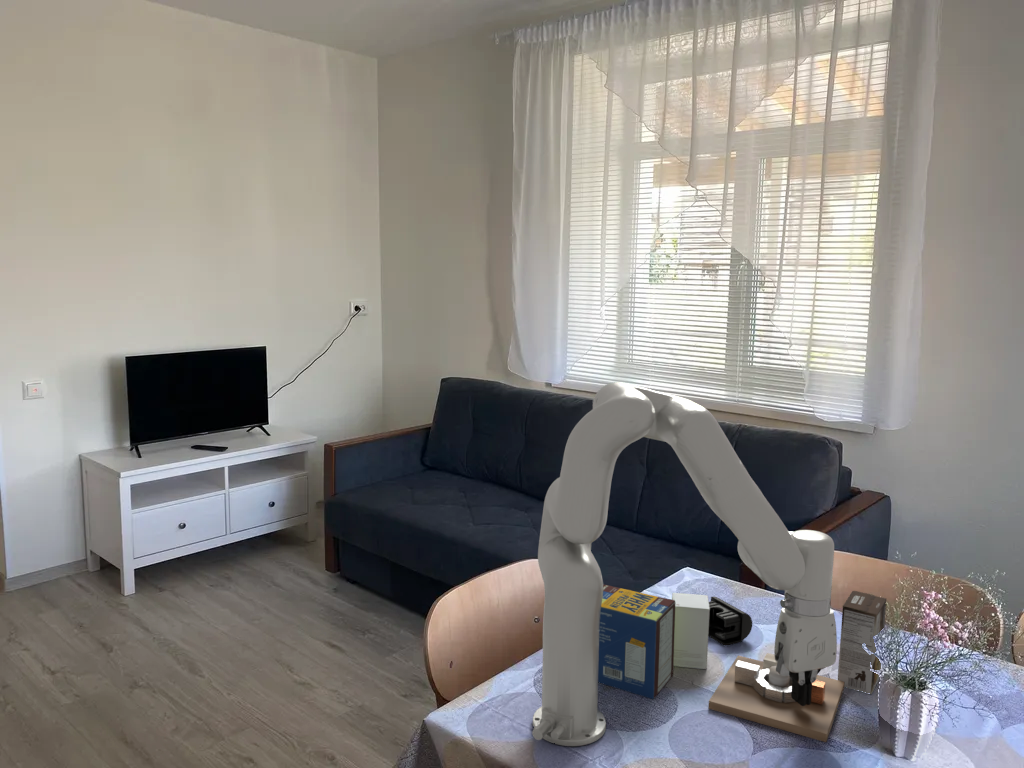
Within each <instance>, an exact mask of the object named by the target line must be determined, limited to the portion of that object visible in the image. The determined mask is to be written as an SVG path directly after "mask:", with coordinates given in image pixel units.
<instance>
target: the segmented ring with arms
mask: <svg viewBox="0 0 1024 768" xmlns="http://www.w3.org/2000/svg"><path fill="white" fill-rule="evenodd" d="M734 681H735V682H738V683H742V684H746V685H750V686H753V687H754V690H756V691H757V692H758V693H759V694H760V695H761V696H762V697H765V698H766V699H770V700H773V701H777V702H781V703H782V701H783V702H784V703H788V702H795V700H794V699H792V697H791V692H792V678H790V680H789V687H784V688H781V687H777V686H774V685H770V684H769V669H762V670H760V666H758V665H754V664H750V663H746V662H742V661H738V662H737V663H736V665H735V679H734ZM824 697H825V682H822V681H818V680H816V681H815V682H814V683H812V694H811V702H814V703H818V704H821V705H822V704H823V701H824Z"/></svg>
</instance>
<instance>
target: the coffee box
mask: <svg viewBox="0 0 1024 768" xmlns="http://www.w3.org/2000/svg"><path fill="white" fill-rule="evenodd" d="M885 603H886V604H885ZM886 608H887V598H885V597H883V596H882V597H881V596H877V595H873V594H870V593H867V592H861V591H857V590H851V593H850V594H849V595H848V597H847V599H846V601H845V602H844V603H843V605H842V611H841V612H842V613H841V624H840V625H841V628H840V640H839V641H840V644H839V653H838V654H839V657H838V668H837V669H838V671H837V680H839V681H843V682H845V684H844V688H845V687H847V688H846V689H849V688H850V689H849V690H852V689H855V690H854V691H856V690H859V691H863V692H866V693H870V694H871V695H873V692H874V691H875V688H876V687H877V684H878V682H879V680H880V678H879V675H878V674H876V673H874V672H872V671H870V669H871V667H870V662H871V665H872V669H874V670H880V669H881V670H882V668H881V663H880V661H879V659H878V658H877V657H876V656H875V655H874V654H871V655H869V654H868V653H867V652H866V651H865V650H864V649H863V648H862V644H863V643H865V644H866V647H867V648H868V649H869V650H870V651H871V652H873V653H875V652H876V647H875V643H874V639H873V636H875V635H877V634H878V633H879V632H880V631H881V630H882V629H883V628H884V629H885V623H886V610H887V609H886ZM859 691H858V692H859ZM866 693H865V694H866Z"/></svg>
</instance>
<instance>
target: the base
mask: <svg viewBox="0 0 1024 768" xmlns="http://www.w3.org/2000/svg"><path fill="white" fill-rule="evenodd" d="M738 661H742V662H746V663H750V664H754V665H758V666H760V670H762V669H769V684H770V685H774V686H777V687H781V688H784V687H789V680H790V677H789V676H782V675H780V674H778V673H777V672H776V666H777V663H778V662H777V661H775V656H774V653H769V652H766V654H765V656H764V658H763V661H762V660H758V659H754V658H749V657H747V656H746V657H745V656H742V655H737V657H736V658H735V659H734V661H733V663H732V664H731V666H730V667H729V669H728V671H727V672H725V673H726V674H725V676H724V677H723V678H722V679H721V681H720V682H719V684H718V686H717V688H716V689H715V691H714V692H713V694H712V696H710V699H709V700H708V709H709V710H712V711H715V712H719V713H722V714H726V715H730V716H733V717H736V718H739V719H743V720H748V721H750V722H753V723H754V722H755V723H757V724H761V725H764V726H767V727H771V728H774V729H775V728H776V729H778V730H782V731H785V732H788V733H791V734H796V735H798V736H801V737H807V738H809V739H813V740H817V741H819V742H823V743H827V741H828V739H829V736H830V733H831V729H832V726H833V723H834V720H835V718H836V714H837V712H838V709H839V706H840V703H841V700H842V697H843V694H844V690H845V687H844V684H845V682H843V681H839V680H838V679H834V678H830V677H826V676H823V675H818V674H817V677H816V680H818V681H822V682H825V697H824V701H823V704H822V705H821V704H818V703H814V702H811V704H810V705H807V704H806V705H805V706H801V705H800V704H799V703H798V702H796V701H795V702H788V703H784V702H783V701H782V703H781V702H777V701H773V700H770V699H766V698H765V697H762V696H761V695H760V694H759V693H758V692H757V691H756V690H754V687H753V686H750V685H746V684H742V683H738V682H735V681H734V679H735V665H736V663H737V662H738ZM839 702H840V703H839ZM838 705H839V706H838ZM837 708H838V709H837Z"/></svg>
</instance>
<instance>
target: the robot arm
mask: <svg viewBox="0 0 1024 768" xmlns="http://www.w3.org/2000/svg"><path fill="white" fill-rule="evenodd" d="M567 438H568V439H567V441H566V444H565V448H564V452H563V457H562V464H561V468H560V469H561V470H560V474H559V477H557V478H556V479H555V480H554V481H553V482H552V483H551V484H550V486H549V487H548V489H547V491H546V494H545V497H544V501H543V508H542V509H543V510H542V516H541V523H540V531H539V532H540V533H539V540H538V549H537V561H538V567H539V569H540V570H539V571H540V575H541V578H542V580H543V586H544V587H543V588H544V602H543V603H544V606H543V619H542V669H541V671H542V673H541V674H542V676H541V677H542V678H541V681H542V682H541V690H542V691H541V706H539V708H537V709H536V711H534V713H533V715H532V727H533V726H534V728H533V730H532V736H533V738H534V739H535V740H537V741H541V740H542V739H543V740H544V741H547V742H549V743H551V744H554V743H555V745H557V746H558V745H559V746H563V747H580V746H585V745H590V744H592V743H595V742H597V741H598V740H599V739H601V738H602V737H603V735H604V734H605V732H606V729H607V728H606V727H607V719H606V717H605V715H604V714H603V713H602V712H601V710H599V709H598V698H599V697H598V695H599V694H598V693H599V690H598V689H599V683H598V662H599V623H600V611H601V604H602V597H603V585H604V580H603V575H602V571H601V568H600V565H599V563H598V561H597V560H596V558H595V556H594V554H593V553H592V551H591V550H592V543H594V542H595V541H596V540H598V538H600V537H601V535H602V534H603V532H604V530H605V528H606V525H607V521H608V511H609V504H610V503H609V501H610V496H611V486H612V479H613V474H614V470H615V466H616V462H617V459H618V458H619V456H620V454H621V453H622V451H623V450H624V449H626V447H628V446H629V445H631V444H632V443H635V442H636V441H638V440H640V439H642V438H647V439H650V440H656V441H661V442H664V443H665V442H666V443H667V444H668V445H669V446H671V448H672V449H673V451H674V452H675V454H676V456H677V458H678V459H679V461H680V463H681V464H682V465H683V467H684V469H685V470H686V472H687V473H688V475H689V476H690V478H691V480H692V482H693V484H694V485H695V487H696V488H697V490H698V492H699V494H700V495H701V496H702V499H703V500H704V501H705V502H706V504H707V505H708V507H709V508H710V509H711V510H712V511H713V513H714V514H715V515H716V516H717V517H718V518H719V519H720V520H721V521H722V522H723V523H724V524H725V525H726V526H727V528H729V530H730V531H731V532H732V533H733V534H734V536H735V537H736V538H737V540H738V541H737V552H738V555H739V558H740V559H741V561H742V562H743V563H744V564H745V566H747V568H749V569H750V570H751V571H752V572H753V573H754V574H755V575H756V576H757V577H758V578H759V579H760V580H761V581H762V582H764V584H766V585H767V586H768V587H769V588H772V589H774V590H777V591H784V597H783V599H780V601H779V605H780V607H781V608H780V609H781V610H780V613H779V617H778V622H777V625H776V630H775V631H776V633H775V637H774V638H775V640H774V653H773V654H774V656H775V661H777V662H778V663H777V666H776V672H777V673H778V674H780V675H782V676H789V677H790V678H792V692H791V697H792V699H794V700H795V701H796V702H798V703H799V704H800V705H801V706H805V705H806V704H807V705H810V704H811V694H812V683H814V682H815V681H816V677H817V675H818V674H819V673H820V672H821V670H823V669H826V668H829V667H831V666H833V665H834V664H835V663H836V661H837V647H838V646H837V644H838V640H837V623H836V617H835V612H834V610H833V609H832V608H831V604H832V603H831V601H832V588H833V574H834V573H833V572H834V558H835V542H834V540H833V538H832V537H831V536H830V535H828V534H827V533H824V532H822V531H819V530H812V529H798V530H795V531H789V530H788V528H787V527H786V525H785V524H784V522H783V521H782V519H781V517H780V516H779V514H778V513H777V512H776V511H775V509H774V508H773V506H772V505H771V504H770V502H769V501H768V500H767V498H766V497H765V496H764V494H763V492H762V490H761V489H760V487H759V486H758V485H757V484H756V482H755V481H754V480H753V478H752V477H751V476H750V474H749V472H748V470H747V468H746V466H745V465H744V464H743V462H742V460H741V459H740V458H739V456H738V454H737V453H736V451H735V449H734V447H733V446H732V444H731V442H730V441H729V439H728V437H727V435H726V434H725V432H724V430H723V429H722V427H721V426H720V423H719V422H718V421H717V418H715V416H714V415H713V414H712V412H710V411H709V410H708V409H707V408H706V407H704V406H702V405H700V404H699V403H696V402H694V401H693V400H690V399H688V398H684V397H682V396H677V395H672V394H667V393H664V392H660V391H656V390H652V389H649V388H646V387H642V386H638V385H634V384H631V383H628V382H627V383H626V382H620V381H615V382H610V383H608V384H605V385H603V386H602V387H601V388H599V390H598V391H597V392H596V393H595V396H594V397H593V401H592V409H591V410H590V411H589V412H587V413H586V414H584V416H583V417H582V418H581V419H580V420H579V421H578V422H577V423H576V424H575V426H574V427H573V429H572V430H571V432H570V434H569V435H568V437H567Z"/></svg>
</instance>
